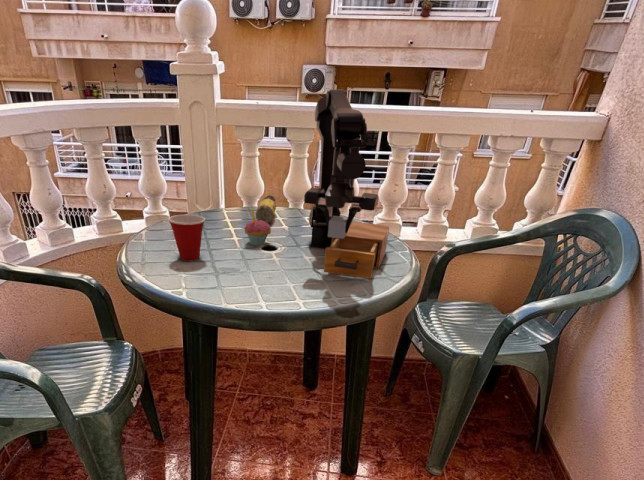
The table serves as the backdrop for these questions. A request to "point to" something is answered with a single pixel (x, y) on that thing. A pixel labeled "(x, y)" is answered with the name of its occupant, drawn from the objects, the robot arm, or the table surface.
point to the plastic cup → (187, 235)
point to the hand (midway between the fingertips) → (337, 231)
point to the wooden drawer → (351, 257)
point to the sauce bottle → (266, 209)
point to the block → (337, 227)
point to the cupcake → (257, 231)
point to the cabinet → (370, 237)
